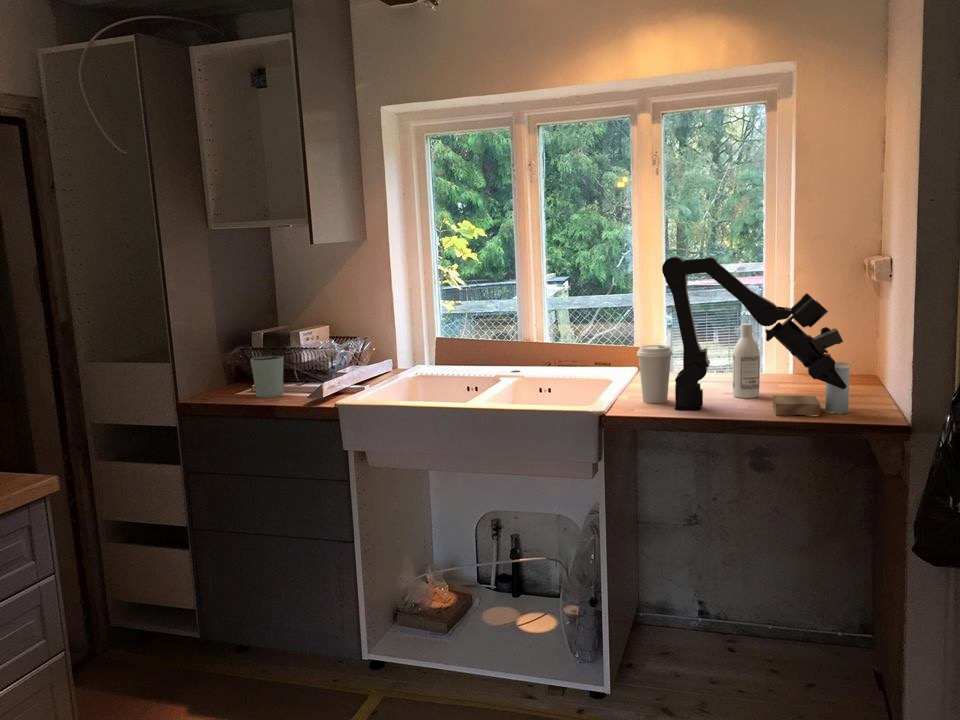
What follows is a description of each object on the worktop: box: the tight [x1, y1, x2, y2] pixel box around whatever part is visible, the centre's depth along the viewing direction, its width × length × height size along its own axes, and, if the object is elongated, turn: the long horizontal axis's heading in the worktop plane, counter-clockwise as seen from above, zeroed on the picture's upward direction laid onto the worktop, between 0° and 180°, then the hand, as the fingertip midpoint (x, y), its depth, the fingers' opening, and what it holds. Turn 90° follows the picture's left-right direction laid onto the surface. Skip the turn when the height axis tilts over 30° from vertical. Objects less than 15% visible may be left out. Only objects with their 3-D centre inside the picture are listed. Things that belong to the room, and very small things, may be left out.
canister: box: [824, 361, 851, 414], centre depth 189 cm, size 5×5×12 cm
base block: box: [772, 394, 821, 417], centre depth 192 cm, size 10×10×3 cm
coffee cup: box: [636, 344, 673, 404], centre depth 210 cm, size 10×10×15 cm
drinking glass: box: [249, 355, 285, 399], centre depth 245 cm, size 10×10×12 cm
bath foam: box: [732, 323, 761, 399], centre depth 211 cm, size 7×7×20 cm
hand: (843, 385), depth 189 cm, fingers open, 6 cm apart
